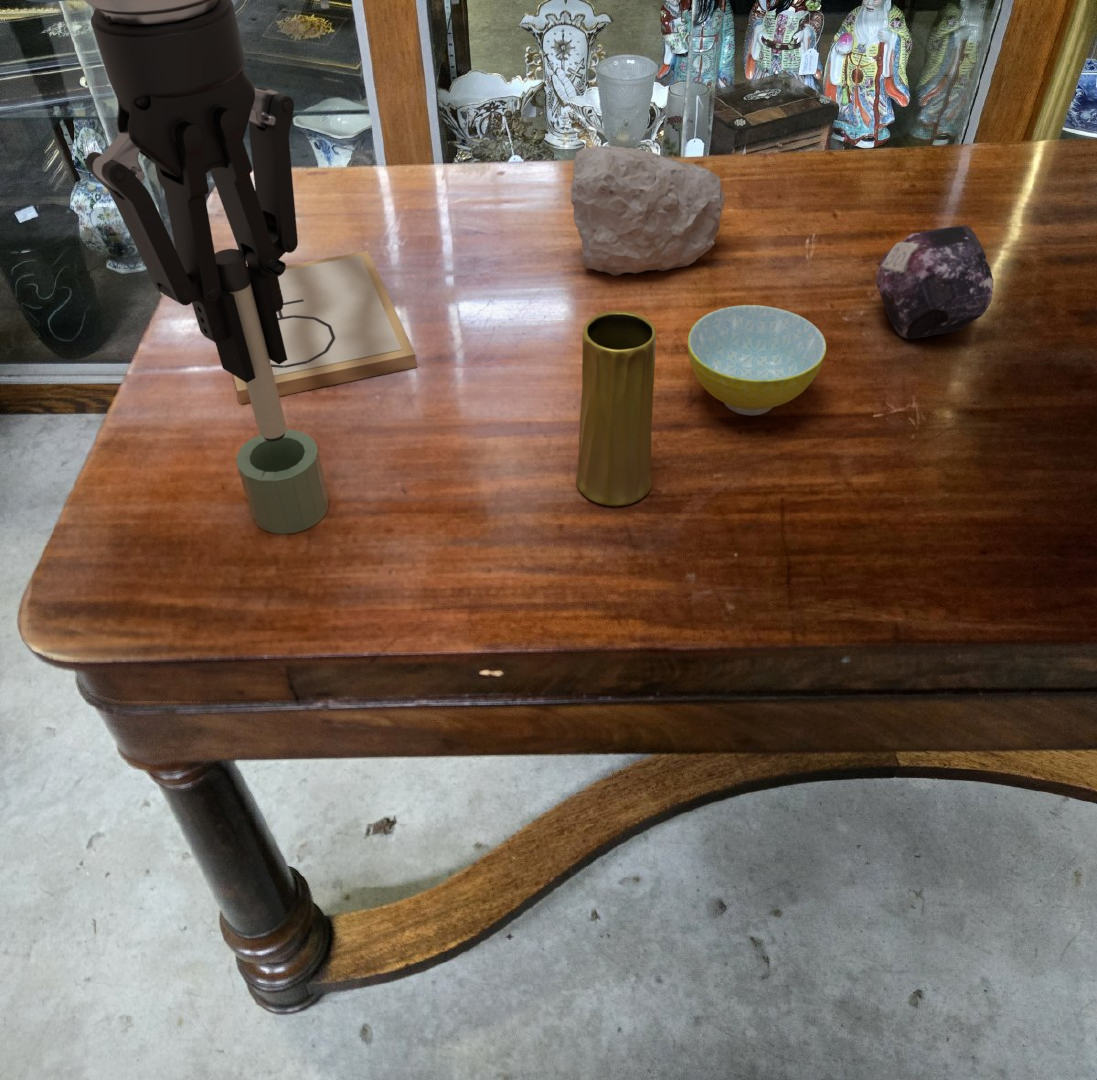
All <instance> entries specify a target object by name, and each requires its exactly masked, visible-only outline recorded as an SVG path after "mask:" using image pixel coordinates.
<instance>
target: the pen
mask: <svg viewBox="0 0 1097 1080" xmlns="http://www.w3.org/2000/svg"><path fill="white" fill-rule="evenodd" d="M215 258H216V264H217V270H218V276H219V282H220V288H221V289H224V290H226V291H228V292H229V293H231V294H233V295H234V298H235V302H236V305H237V309H238V313H239V317H240V321H241V324H242V328H243V332H244V336H245V339H246V343H247V347H248V351H249V355H250V358H251V362H252V366H253V370H254V373H255V377H256V378H255V379H253V380H251V381H250V382H248V383H246V382H245V383H246V386H247V390H248V393H249V397H250V401H251V402H250V404H251V408H252V411H253V416H254V420H255V422H256V426H257V429H258V433H259V435H261V436H262V437H264V439H265V440H267V441H271V442H273V441H278V440H280V439H282V438H283V437H284V436H285V432H286V430H288V426H287V422H286V418H285V415H284V411H283V406H282V402H281V399H280V396H279V395H278V391H277V387H276V383H275V379H274V375H273V371H272V367H271V363H270V359H269V355H268V351H267V347H266V343H265V339H264V335H263V331H262V327H261V323H260V319H259V315H258V311H257V307H256V303H255V299H254V295H253V291H252V287H251V283H250V282H251V280H250V276H249V272H248V268H247V267H248V265H247V261H246V260H245V256H244V253H243V252H242V251H240V250H239V249H237V248H225V249H222V250H219V251H217V252H215Z"/></svg>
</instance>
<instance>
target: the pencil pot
mask: <svg viewBox="0 0 1097 1080" xmlns="http://www.w3.org/2000/svg"><path fill="white" fill-rule="evenodd" d="M235 463H236V466H237V470H238V474H239V477H240V481H241V484H242V487H243V490H244V491H243V492H244V494H245V497H246V500H247V503H248V508H249V511H250V513H251V516H252V520H253V521H254V523H255V524H256V525H257V526H258V527H259V528H260V529H262V530H264V531H266V532H268V533H271V534H277V535H290V534H295V533H300V532H303V531H306V530H308V529H310V528H312V527H314V526H315V525H317V524H318V523H320V522H321V520H322V519H323V518H324V517H325V516H326V514H327V513H328V512H329V511H328V510H329V507H330V497H329V493H328V488H327V484H326V483H327V482H326V479H325V475H324V469H323V466H322V460H321V457H320V451H319V448H318V445H317V442H316V440H314V439H313V438H312V437H311V436H310V434H308V433H306V432H304V431H303V432H302V431H299V430H296V429H287V430H286V432H285V436H284V437H283V438H282V439H280V440H278V441H273V442H271V441H267V440H265V439H264V437H262V436H261V435H260V434H258V435H255V436H254V437H252V438H250V439H249V440H247V441H246V442H245V443H244V444H243V445H242V446H241V447H240V448H239V451H238V452H237V455H236V458H235Z"/></svg>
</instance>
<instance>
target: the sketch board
mask: <svg viewBox="0 0 1097 1080" xmlns="http://www.w3.org/2000/svg"><path fill="white" fill-rule="evenodd" d="M278 280H279V284H280V289H281V294H282V297H283V309H281V310H280V311H278V312H276V313H277V317H278V322H279V326H280V330H281V334H282V338H283V343H284V347H285V351H286V355H287V360H286V361H285V362H283V363H281V364H277V363H275V362H274V361H272V360H270V363H271V367H272V371H273V375H274V379H275V383H276V387H277V391H278V395H279V397H282V396H288V395H293V394H297V393H301V392H306V391H311V390H316V389H320V388H321V389H322V388H324V387H330V386H335V385H339V384H344V383H348V382H354V381H358V380H362V379H367V378H372V377H378V376H382V375H387V374H391V373H396V372H402V371H406V370H411V369H415V368H417V367H418V366H417V365H418V364H417V357H416V353H415V350H414V348H413V346H412V344H411V342H410V339H409V337H408V335H407V333H406V331H405V329H404V326H403V324H402V322H401V320H400V317H399V315H398V313H397V311H396V309H395V306H394V305H393V301H392V300H391V298H390V295H389V294H388V291H387V289H386V286H385V284H384V282H383V279H382V278H381V275H380V273H379V271H378V269H377V267H376V265H375V262H374V260H373V257H372V255H371V253H370V251H369V250H364V251H358V252H354V253H347V254H341V255H336V256H332V257H331V256H330V257H326V258H320V259H315V260H310V261H304V262H298V263H293V264H288V265H286V268H285V271H284V273H283V274H282V275H281V276H278ZM232 377H233V380H234V384H235V389H236V394H237V397H238V400H239V404H240V405H244V404H251V401H250V397H249V393H248V390H247V386H246V383H245V382H244V381H243V380H241V379H239V378H238V377H236V376H234V375H233V374H232Z"/></svg>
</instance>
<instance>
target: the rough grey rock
mask: <svg viewBox="0 0 1097 1080" xmlns="http://www.w3.org/2000/svg"><path fill="white" fill-rule="evenodd" d="M721 183H722V180H721V177H720V176H719V175H717V174H716V173H714V172H713V171H711V170H710V169H709V168H708V167H703V166H701V165H698V164H695V163H690V162H685V161H679V160H677V159H675V158H670V157H666V156H665V155H661V154H659V153H656V152H652V151H648V150H644V149H640V148H635V147H629V148H627V147H624V146H616V145H605V146H604V145H593V146H590V147H589V146H587V147H586V146H585V147H582V148H581V149H580V150H578V151H577V152H575V154H574V161H573V165H572V182H571V186H570V203H571V204H572V206H573V215H572V216H573V221H574V224H575V227H576V228H577V231H578V235H579V237H580V240H581V245H582V251H583V252H582V259H581V264H582V265H583V266H584V267H585V268H586V269H590V270H594V271H597V272H599V273H600V272H603V273H607V274H609V275H611V276H621V275H622V274H626V273H630V274H638V273H644V272H646V271H655V270H657V271H660V272H664V271H669V270H671V269H675V268H676V269H677V268H683V267H687V266H689V265H691V264H693V263H695V262H696V261H697V259H699V257H702V256H703V255H704V254H705V253H707V252H708V251H710V249H712V247H713V246H714V245H715V239H716V237H717V234H718V232H719V231H720V224H721V223H720V220H721V216H722V212H723V206H724V204H725V193H724V191H723V189H722V185H721Z"/></svg>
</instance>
